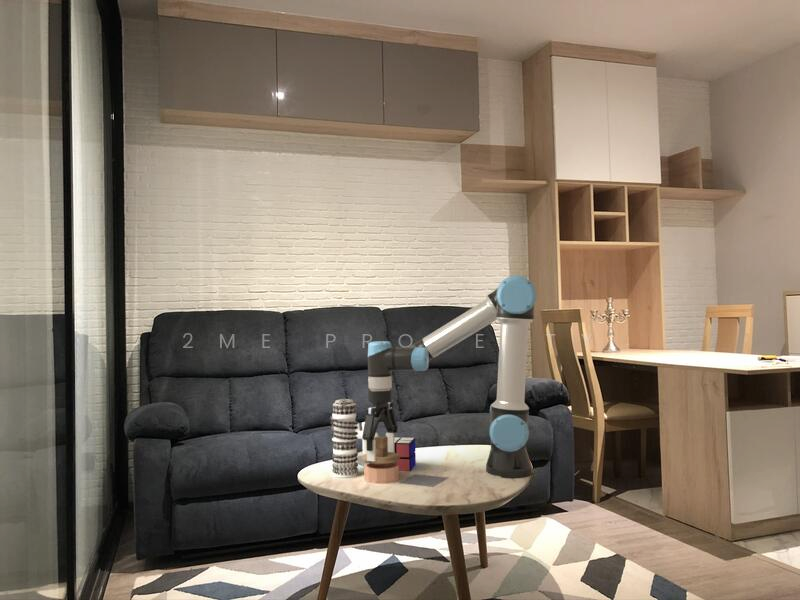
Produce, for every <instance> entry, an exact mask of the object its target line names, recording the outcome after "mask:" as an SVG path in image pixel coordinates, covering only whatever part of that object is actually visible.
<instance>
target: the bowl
mask: <svg viewBox="0 0 800 600" xmlns="http://www.w3.org/2000/svg"><path fill="white" fill-rule="evenodd" d="M363 470H364V471H363V476H364V477H363V478H364V481H365V482H366V483H369V484H379V485H381V484H382V485H385V484H391V483H395V482H398V480H400V471H399V465H398V463H396V462H394V463H388V464H371V463H366V464H364V465H363Z"/></svg>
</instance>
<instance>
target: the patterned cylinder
mask: <svg viewBox="0 0 800 600" xmlns="http://www.w3.org/2000/svg"><path fill="white" fill-rule="evenodd" d="M331 405H332V415H331V416H330V418H329V419H330V425H331V428H330V430H331V431H332V432H331V433H330V434H331V436H333V437H332V438H331V440H332V441H333V447H332V452H333V453H331V454H332V455H331V457H332V462H333V463H332V465H331V466H332V470H331V471H332V472H333V473H332V476H333V477H334V476H335V478H338V477H349V478H353V477H352V476H354V477H357V476H358V475H359V473H358V470H359V468H358V466H359V465H358V463H357V462H356V461H357V460H358V458H357V457H356V456H357V455H358V454H357V453H358V451H357V449H358V448H357V440H358V438H357V437H356V435H357V434H358V433H357V432H356V431H355V429H357V428H358V427H357V426H355V425H357V424H358V423H359V422H358V421H357V420H356V419H358V418H359V416H358V415H357V412H356V405H357V403H355V402H354V400H353V399H351V398H339V399H336V400H334V403H332V404H331ZM357 474H358V475H357ZM356 475H357V476H356Z"/></svg>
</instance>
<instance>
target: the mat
mask: <svg viewBox="0 0 800 600" xmlns="http://www.w3.org/2000/svg"><path fill="white" fill-rule="evenodd" d="M447 479H448V477H447V476H437V475H426V474H418V473H414V474H412V475H410V476H408V477H407V478H405V479H403V480H400V481H399V482H398V484H402V485H403V484H405V485H414V486H420V487H431V488H433V487H436V486H437V485H439V484H440V483H442V482H444V481H446V480H447Z"/></svg>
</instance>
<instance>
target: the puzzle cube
mask: <svg viewBox="0 0 800 600" xmlns="http://www.w3.org/2000/svg"><path fill="white" fill-rule="evenodd" d="M394 453H397V454H399V455H400V460H399V461H397V462H396V463H398V465H399V472H412V470H413V469H414V467H415V466H416V464H417V462H416V461H417V460H416V457H417V456H416V438H415V437H395V436H394Z"/></svg>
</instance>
